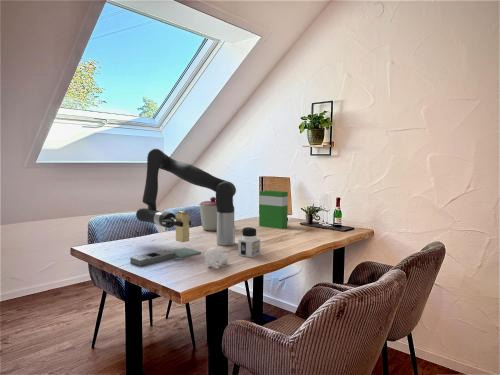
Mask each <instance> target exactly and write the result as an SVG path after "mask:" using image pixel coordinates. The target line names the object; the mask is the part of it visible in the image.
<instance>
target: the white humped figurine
mask: <svg viewBox="0 0 500 375" xmlns="http://www.w3.org/2000/svg"><path fill="white" fill-rule="evenodd" d="M229 258H230V256H229V254H227V253H224V252H223V251H222V250H221V248H218V247H213V246H212V247H210V248H208V249H207V250H206V251H205V253H204V260H205V263H206V266H207V267H208V268H211V267H212V268H213V269H215V270H219V268H220V265H222V264H223V265H227V264H228V262H229ZM216 263H217V264H218V265H217V264H216Z"/></svg>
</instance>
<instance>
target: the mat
mask: <svg viewBox="0 0 500 375" xmlns="http://www.w3.org/2000/svg"><path fill="white" fill-rule="evenodd" d="M170 251H171V252H175V258H179V259H184V258H187V257H192V256H196V255H200V254H202V251H199V250H196V249H193V248H187V247H182V248H177V249H172V250H170Z"/></svg>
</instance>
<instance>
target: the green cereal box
mask: <svg viewBox="0 0 500 375" xmlns="http://www.w3.org/2000/svg"><path fill="white" fill-rule="evenodd" d="M288 195H289V192H288V191H280V190H267V189H266V190H259V201H258V202H259V203H258V204H259V207H258V209H259V210H258V212H259V214H258V226H259V227H263V228H271V229H277V228H278V229H279V230H284V229H286V228H288V204H289V202H288V201H289V196H288Z"/></svg>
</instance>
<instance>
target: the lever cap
mask: <svg viewBox="0 0 500 375" xmlns="http://www.w3.org/2000/svg"><path fill="white" fill-rule="evenodd" d="M175 216H176V221H180V222H183V227H179V226H175V241H176V242H180V243H186V242H189V241H190V226H189V221H190V214H189V213H188V212H187V211H182V210H179V211H178V213H176V214H175Z"/></svg>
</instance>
